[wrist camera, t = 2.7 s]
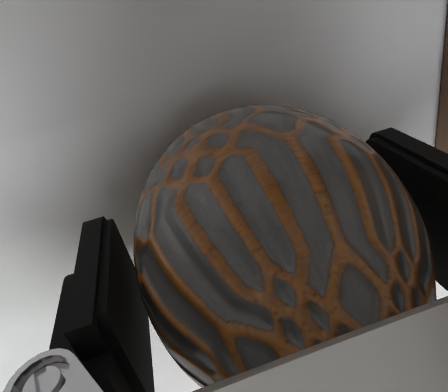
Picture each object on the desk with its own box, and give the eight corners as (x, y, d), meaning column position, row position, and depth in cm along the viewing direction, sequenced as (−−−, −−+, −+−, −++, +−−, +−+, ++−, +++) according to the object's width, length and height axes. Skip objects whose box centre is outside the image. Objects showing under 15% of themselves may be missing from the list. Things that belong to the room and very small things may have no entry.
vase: (330, 69, 12) (705, 193, 4) (319, 244, 15) (516, 488, 8) (108, 98, 10) (74, 346, 3) (150, 281, 14) (183, 615, 6)
